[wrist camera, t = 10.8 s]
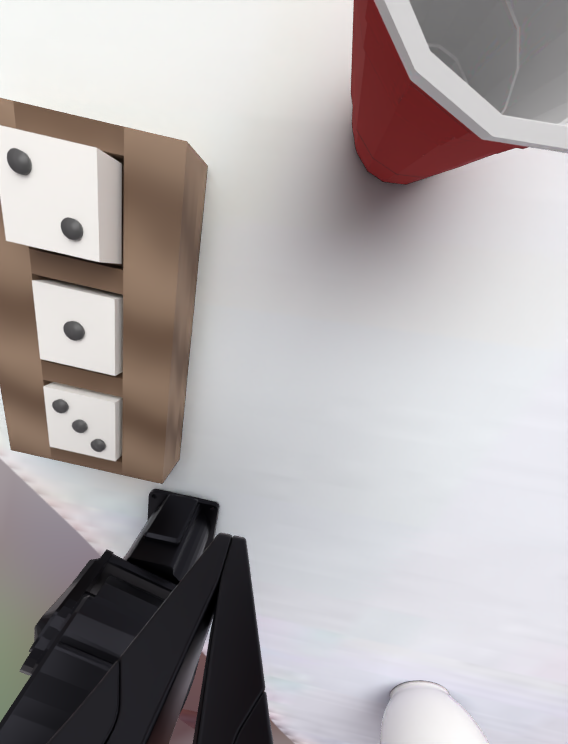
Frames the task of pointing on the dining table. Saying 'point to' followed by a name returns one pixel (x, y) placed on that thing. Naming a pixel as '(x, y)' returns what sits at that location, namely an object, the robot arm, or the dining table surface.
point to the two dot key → (60, 196)
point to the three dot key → (84, 421)
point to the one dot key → (79, 325)
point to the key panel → (131, 279)
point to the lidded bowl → (427, 717)
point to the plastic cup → (456, 82)
